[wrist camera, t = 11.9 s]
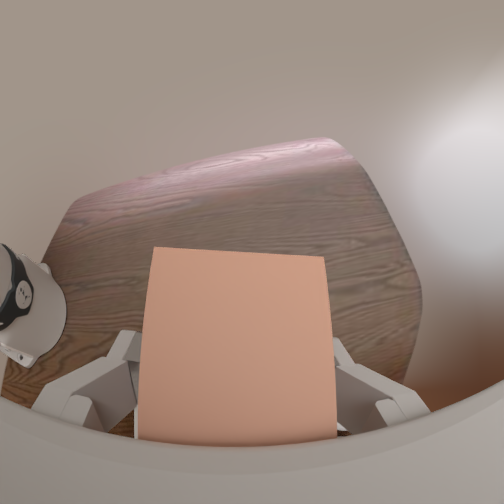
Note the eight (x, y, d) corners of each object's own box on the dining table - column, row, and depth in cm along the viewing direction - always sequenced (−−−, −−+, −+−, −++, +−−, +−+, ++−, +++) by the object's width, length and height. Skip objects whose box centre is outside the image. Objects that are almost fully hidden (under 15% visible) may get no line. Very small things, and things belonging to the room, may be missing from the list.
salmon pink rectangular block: (190, 416, 16) (139, 472, 4) (191, 346, 18) (154, 247, 6) (249, 418, 16) (336, 468, 4) (249, 349, 19) (323, 256, 7)
